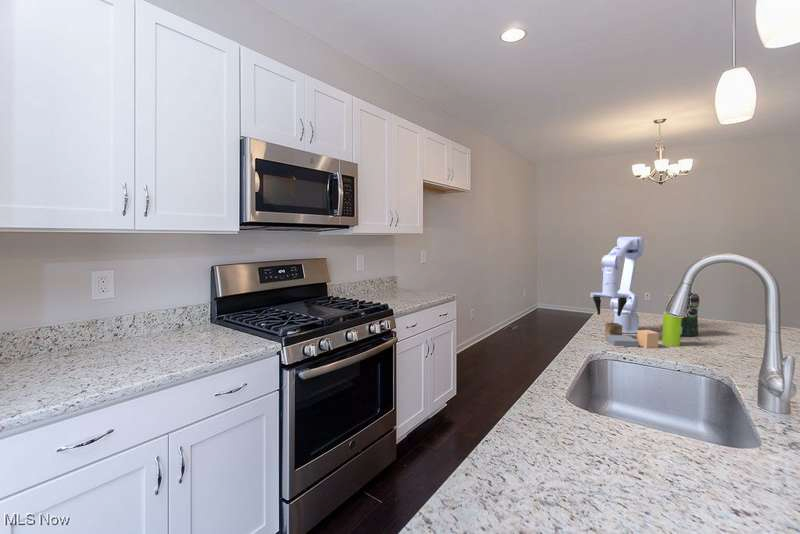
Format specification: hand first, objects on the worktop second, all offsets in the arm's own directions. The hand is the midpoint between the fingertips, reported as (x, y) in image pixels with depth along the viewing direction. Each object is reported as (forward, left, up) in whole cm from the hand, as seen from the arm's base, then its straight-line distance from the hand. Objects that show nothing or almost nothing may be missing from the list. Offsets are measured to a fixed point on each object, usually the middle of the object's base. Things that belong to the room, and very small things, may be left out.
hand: (608, 315), depth 163 cm
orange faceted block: (-11, +10, -11) cm, 18 cm away
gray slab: (-2, +8, -11) cm, 13 cm away
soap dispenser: (-22, +6, -11) cm, 25 cm away
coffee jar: (-36, -10, -11) cm, 39 cm away
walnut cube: (-3, -2, -11) cm, 11 cm away
